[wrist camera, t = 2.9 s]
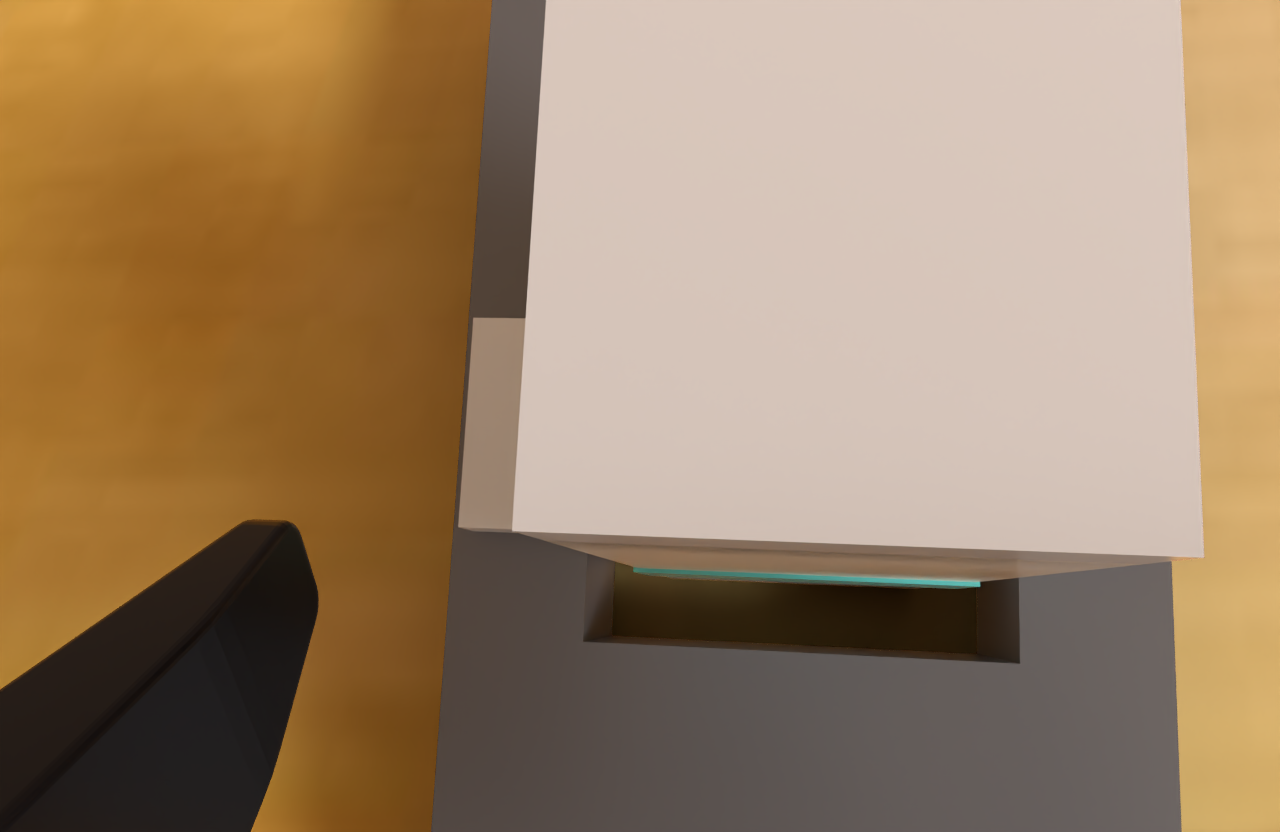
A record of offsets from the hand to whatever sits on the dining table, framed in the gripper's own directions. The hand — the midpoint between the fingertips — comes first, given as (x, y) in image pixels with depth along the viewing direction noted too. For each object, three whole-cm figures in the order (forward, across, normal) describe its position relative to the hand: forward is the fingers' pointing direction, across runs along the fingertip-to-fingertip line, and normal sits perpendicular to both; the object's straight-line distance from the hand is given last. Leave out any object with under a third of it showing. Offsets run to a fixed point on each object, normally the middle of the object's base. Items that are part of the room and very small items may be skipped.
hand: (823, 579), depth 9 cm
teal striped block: (+8, 0, +5) cm, 10 cm away
